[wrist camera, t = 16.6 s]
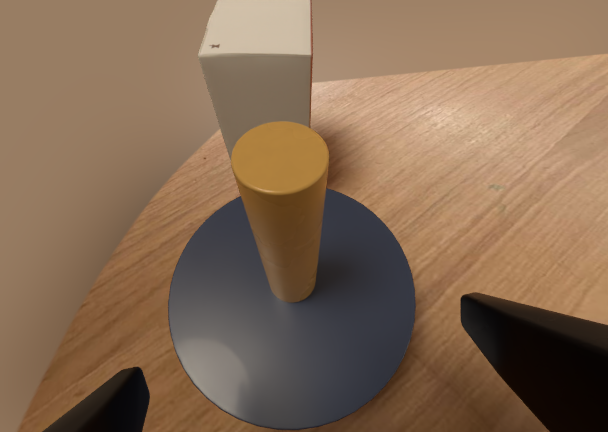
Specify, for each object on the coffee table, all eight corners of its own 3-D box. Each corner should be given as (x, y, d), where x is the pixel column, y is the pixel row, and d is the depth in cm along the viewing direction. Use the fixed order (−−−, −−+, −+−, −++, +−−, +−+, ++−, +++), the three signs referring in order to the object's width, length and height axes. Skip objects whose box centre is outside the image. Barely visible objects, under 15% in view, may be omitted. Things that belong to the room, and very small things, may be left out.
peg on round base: (358, 495, 12) (552, 863, 3) (122, 339, 15) (-168, 258, 6) (434, 240, 19) (571, 84, 9) (256, 168, 22) (219, -4, 12)
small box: (309, 198, 26) (313, 55, 15) (240, 197, 26) (193, 54, 15) (308, 135, 30) (311, -12, 19) (249, 135, 30) (218, -12, 19)
